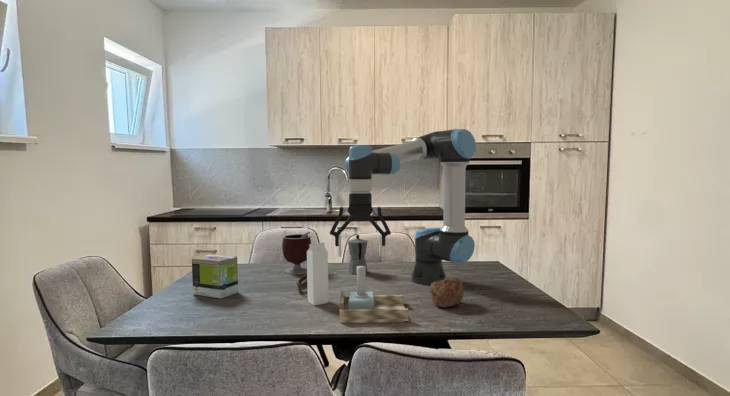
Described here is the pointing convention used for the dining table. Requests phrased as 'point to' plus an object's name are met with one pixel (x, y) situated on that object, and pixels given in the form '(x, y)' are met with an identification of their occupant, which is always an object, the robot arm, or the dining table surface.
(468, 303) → the dining table surface
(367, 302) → the cylinder on square plate
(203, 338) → the dining table surface
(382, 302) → the tray
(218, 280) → the tea box
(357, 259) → the coffeepot
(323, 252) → the milk
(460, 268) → the dining table surface
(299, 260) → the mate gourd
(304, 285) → the pottery mug
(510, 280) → the dining table surface
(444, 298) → the decorative rock
